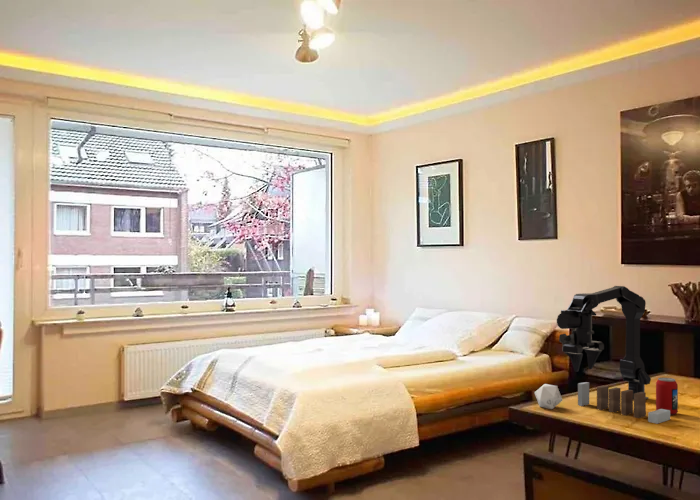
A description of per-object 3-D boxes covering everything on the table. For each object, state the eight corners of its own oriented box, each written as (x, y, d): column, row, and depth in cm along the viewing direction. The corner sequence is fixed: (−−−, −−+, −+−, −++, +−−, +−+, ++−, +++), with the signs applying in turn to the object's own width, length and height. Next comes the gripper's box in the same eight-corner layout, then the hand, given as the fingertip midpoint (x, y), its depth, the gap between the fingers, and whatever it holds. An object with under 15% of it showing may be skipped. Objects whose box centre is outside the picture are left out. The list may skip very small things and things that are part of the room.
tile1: (596, 409, 218) (596, 387, 219) (604, 407, 221) (604, 385, 222) (601, 410, 217) (601, 387, 217) (608, 408, 220) (608, 386, 220)
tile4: (633, 417, 208) (633, 393, 208) (641, 415, 211) (641, 391, 211) (638, 418, 206) (638, 394, 207) (645, 415, 209) (645, 392, 210)
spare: (577, 405, 224) (577, 383, 225) (585, 403, 227) (585, 381, 228) (581, 406, 223) (581, 384, 223) (589, 404, 226) (589, 382, 226)
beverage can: (680, 416, 209) (680, 381, 209) (659, 415, 211) (659, 380, 211) (674, 411, 216) (674, 377, 216) (653, 410, 217) (653, 376, 217)
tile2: (608, 411, 215) (608, 389, 215) (616, 409, 218) (616, 387, 218) (613, 412, 214) (613, 389, 214) (620, 410, 217) (620, 388, 217)
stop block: (661, 417, 207) (661, 408, 207) (670, 419, 205) (670, 410, 205) (648, 421, 202) (648, 412, 202) (657, 423, 199) (657, 414, 199)
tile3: (621, 414, 211) (621, 391, 211) (628, 412, 214) (628, 389, 214) (625, 415, 210) (625, 392, 210) (632, 413, 213) (632, 390, 213)
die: (540, 412, 216) (558, 391, 214) (525, 395, 224) (542, 375, 221) (553, 417, 221) (571, 397, 219) (539, 401, 228) (556, 381, 226)
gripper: (577, 324, 238) (577, 364, 237) (549, 327, 226) (549, 369, 226) (604, 327, 229) (604, 368, 229) (576, 330, 218) (576, 374, 217)
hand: (583, 370), depth 225 cm, fingers open, 9 cm apart
